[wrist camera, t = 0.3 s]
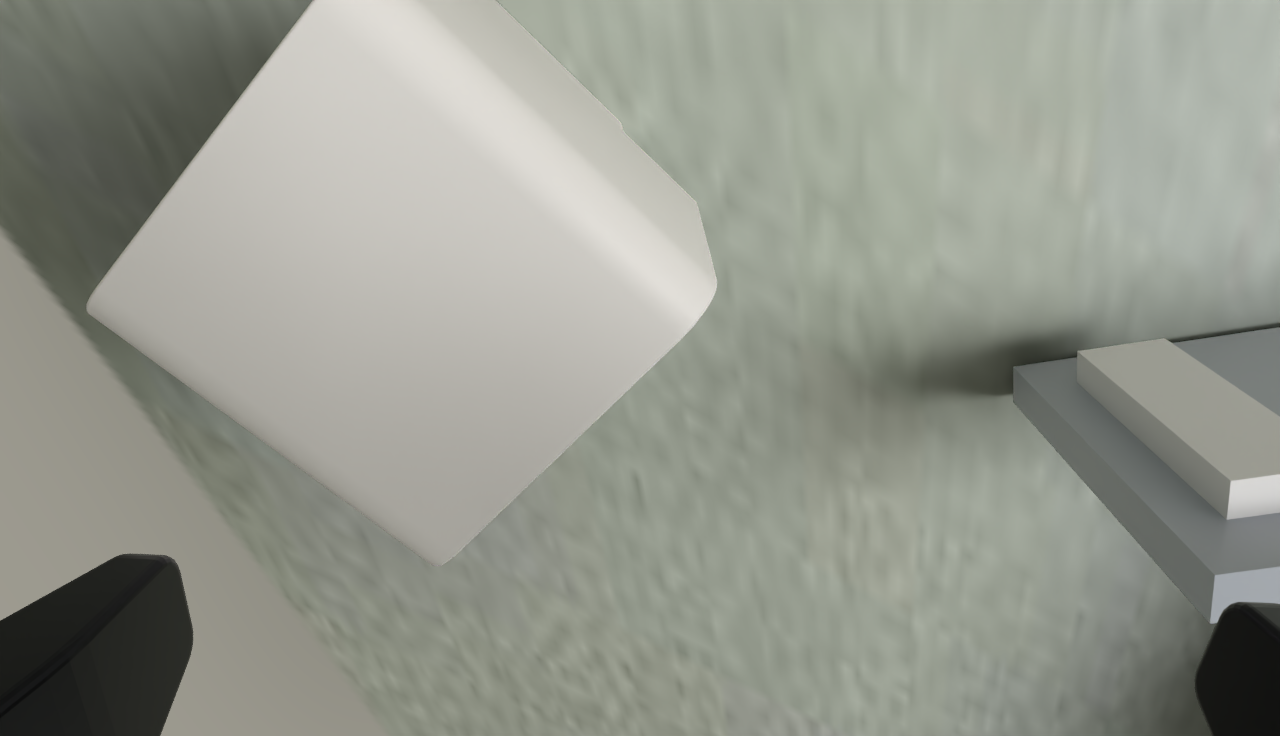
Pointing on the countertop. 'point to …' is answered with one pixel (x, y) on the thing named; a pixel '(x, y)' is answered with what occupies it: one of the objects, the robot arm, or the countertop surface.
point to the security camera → (414, 263)
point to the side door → (1177, 453)
